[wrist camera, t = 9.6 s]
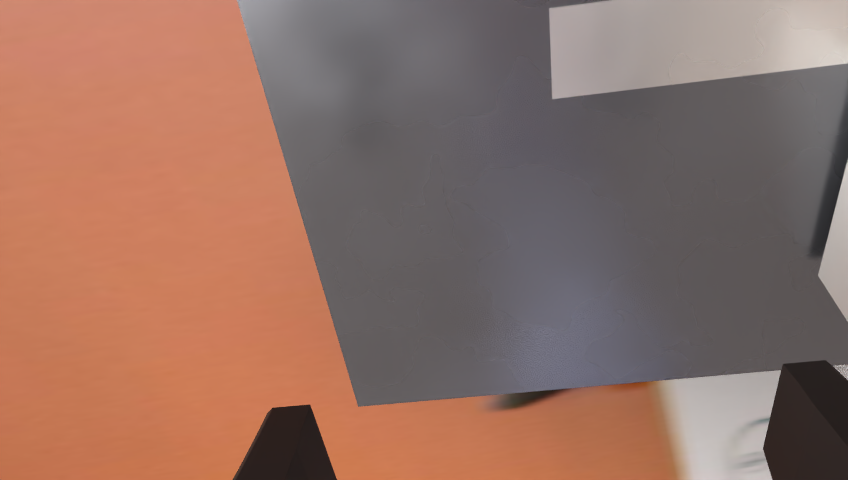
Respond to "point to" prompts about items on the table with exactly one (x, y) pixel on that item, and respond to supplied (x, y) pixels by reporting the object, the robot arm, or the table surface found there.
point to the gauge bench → (562, 185)
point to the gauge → (837, 251)
